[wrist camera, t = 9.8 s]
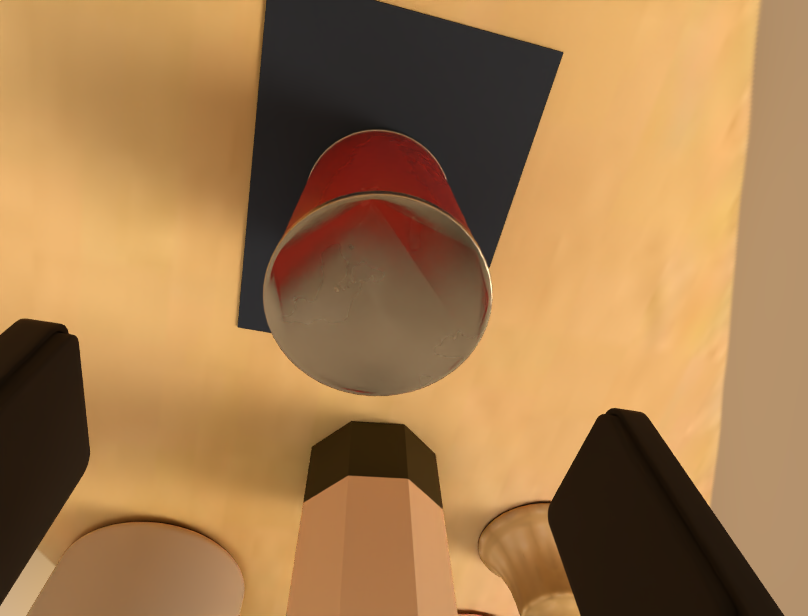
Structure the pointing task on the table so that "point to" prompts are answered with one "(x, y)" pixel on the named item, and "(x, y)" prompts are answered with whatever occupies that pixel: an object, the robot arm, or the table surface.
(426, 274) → the tin can
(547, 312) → the table surface
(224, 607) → the cylinder vase
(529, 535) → the hand bell
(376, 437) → the wine bottle
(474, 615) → the teacup
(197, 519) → the table surface
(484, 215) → the placemat
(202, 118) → the table surface
